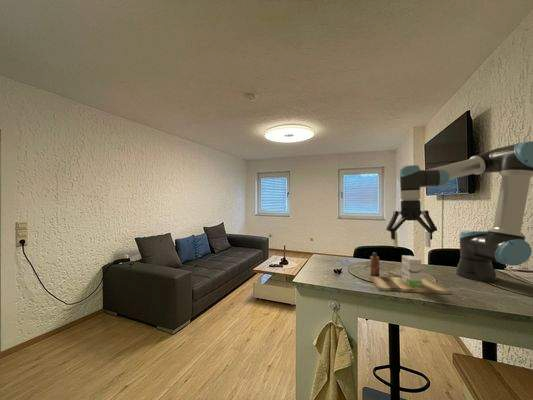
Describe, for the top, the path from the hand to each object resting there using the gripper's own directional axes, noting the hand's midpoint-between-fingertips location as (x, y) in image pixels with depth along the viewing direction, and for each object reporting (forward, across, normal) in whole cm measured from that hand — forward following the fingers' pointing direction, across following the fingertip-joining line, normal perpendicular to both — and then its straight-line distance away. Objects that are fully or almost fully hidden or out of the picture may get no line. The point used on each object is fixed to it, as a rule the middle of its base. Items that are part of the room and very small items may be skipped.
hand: (411, 246), depth 103 cm
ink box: (+17, 0, 0) cm, 17 cm away
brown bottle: (+18, +13, -11) cm, 24 cm away
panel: (+18, +3, 0) cm, 18 cm away
